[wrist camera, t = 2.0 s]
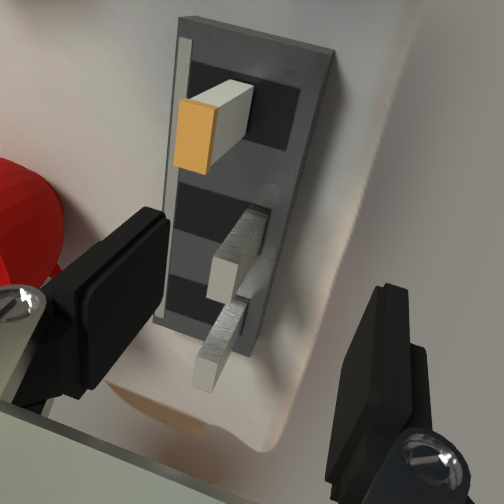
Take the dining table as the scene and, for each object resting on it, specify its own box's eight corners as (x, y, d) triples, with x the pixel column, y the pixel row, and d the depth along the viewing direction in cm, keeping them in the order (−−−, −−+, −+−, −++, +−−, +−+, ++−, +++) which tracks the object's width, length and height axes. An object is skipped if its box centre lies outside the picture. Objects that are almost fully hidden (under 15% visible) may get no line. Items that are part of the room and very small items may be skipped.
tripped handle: (246, 137, 27) (205, 175, 21) (220, 130, 27) (173, 165, 22) (256, 84, 25) (214, 109, 20) (228, 77, 26) (179, 100, 20)
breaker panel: (257, 338, 39) (222, 422, 31) (165, 305, 40) (110, 378, 33) (334, 49, 26) (307, 72, 18) (195, 15, 27) (115, 22, 20)
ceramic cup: (82, 315, 44) (9, 389, 36) (-52, 190, 41) (-167, 240, 33) (156, 251, 38) (88, 323, 29) (2, 95, 34) (-124, 126, 26)
